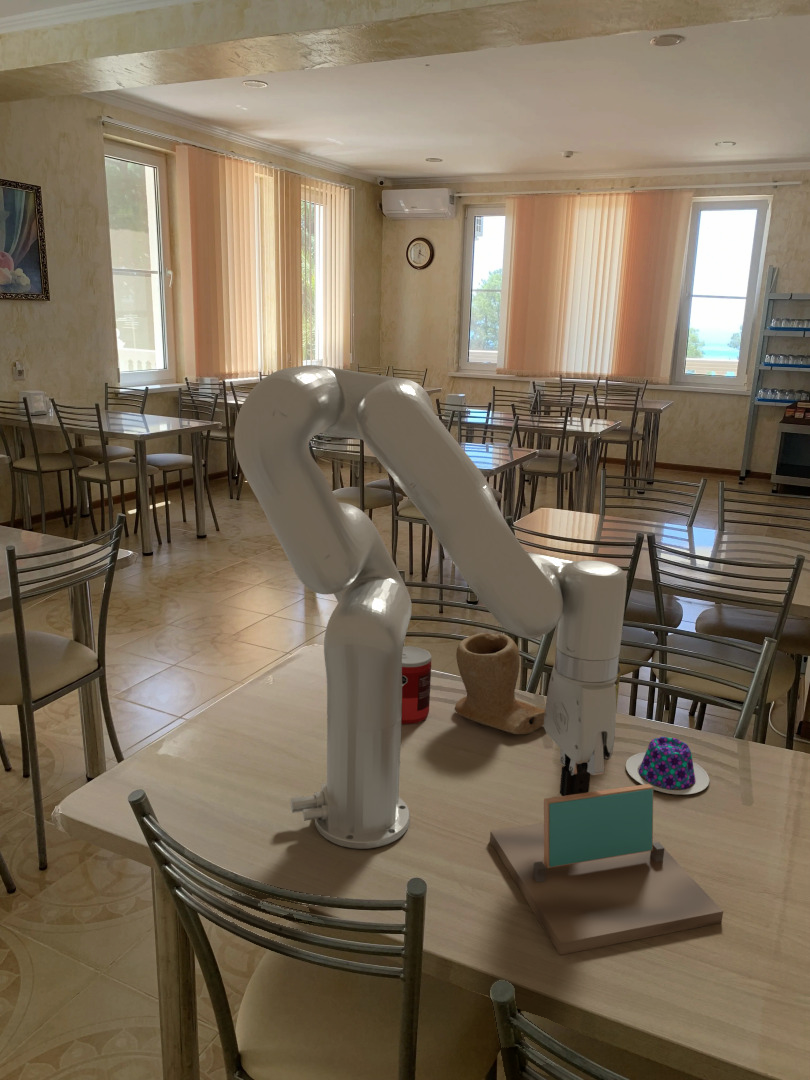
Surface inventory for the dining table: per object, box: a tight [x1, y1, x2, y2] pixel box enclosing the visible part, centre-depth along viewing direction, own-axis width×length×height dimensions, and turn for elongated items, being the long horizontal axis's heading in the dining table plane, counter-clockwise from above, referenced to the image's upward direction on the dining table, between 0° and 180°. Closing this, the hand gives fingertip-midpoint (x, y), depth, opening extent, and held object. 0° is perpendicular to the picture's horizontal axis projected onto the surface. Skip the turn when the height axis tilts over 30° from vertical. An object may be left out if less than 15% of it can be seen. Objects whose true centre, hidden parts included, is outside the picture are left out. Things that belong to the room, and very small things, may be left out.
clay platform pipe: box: [454, 632, 545, 735], centre depth 133 cm, size 15×12×15 cm
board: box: [489, 822, 724, 955], centre depth 96 cm, size 20×20×3 cm
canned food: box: [401, 645, 432, 725], centre depth 135 cm, size 8×8×11 cm
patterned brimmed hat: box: [625, 736, 710, 795], centre depth 120 cm, size 12×12×5 cm
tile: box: [543, 783, 654, 868], centre depth 96 cm, size 8×14×1 cm
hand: (573, 796), depth 102 cm, fingers closed
